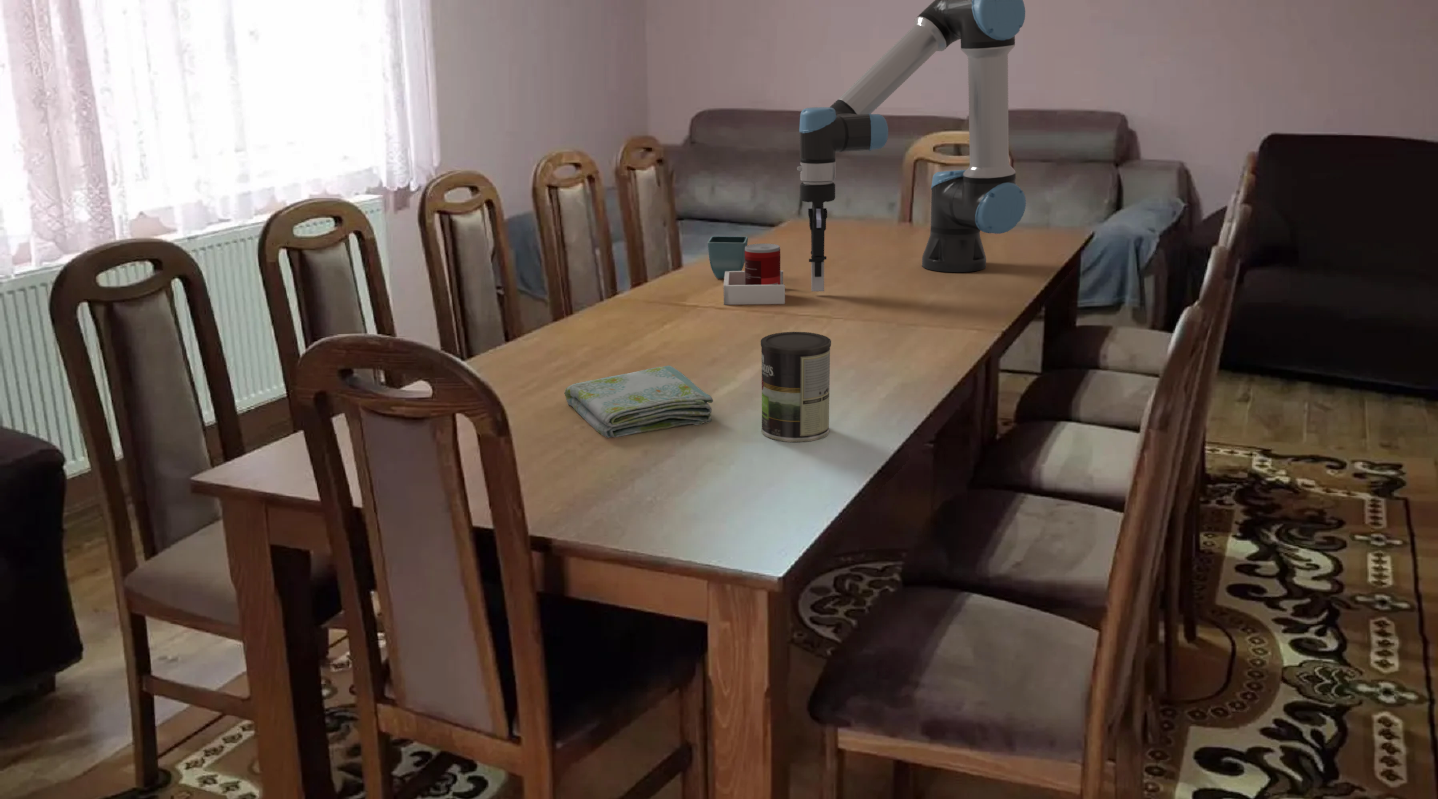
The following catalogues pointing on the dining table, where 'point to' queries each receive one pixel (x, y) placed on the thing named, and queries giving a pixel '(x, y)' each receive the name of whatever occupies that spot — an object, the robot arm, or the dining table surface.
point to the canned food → (762, 264)
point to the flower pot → (726, 254)
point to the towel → (639, 402)
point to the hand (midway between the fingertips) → (817, 290)
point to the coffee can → (795, 386)
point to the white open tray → (751, 290)
